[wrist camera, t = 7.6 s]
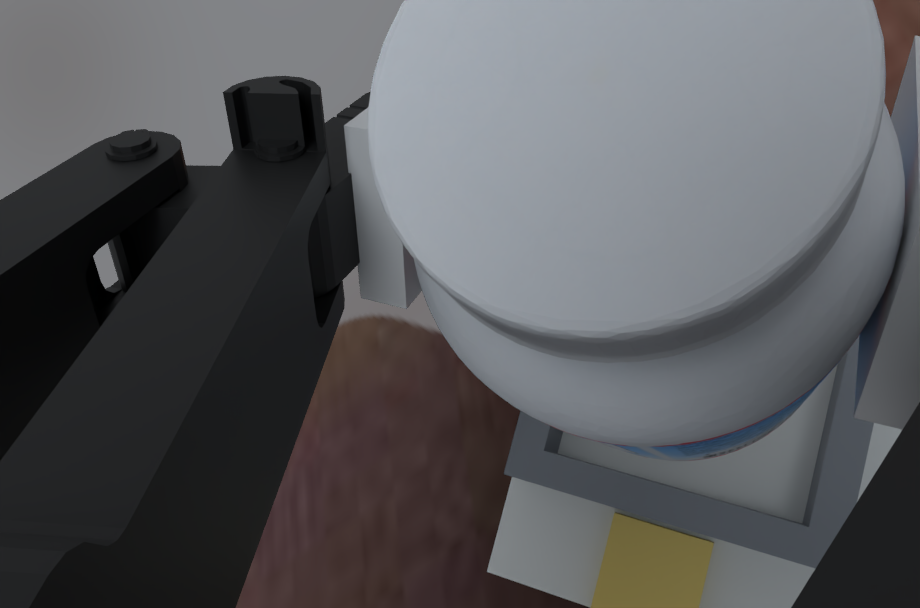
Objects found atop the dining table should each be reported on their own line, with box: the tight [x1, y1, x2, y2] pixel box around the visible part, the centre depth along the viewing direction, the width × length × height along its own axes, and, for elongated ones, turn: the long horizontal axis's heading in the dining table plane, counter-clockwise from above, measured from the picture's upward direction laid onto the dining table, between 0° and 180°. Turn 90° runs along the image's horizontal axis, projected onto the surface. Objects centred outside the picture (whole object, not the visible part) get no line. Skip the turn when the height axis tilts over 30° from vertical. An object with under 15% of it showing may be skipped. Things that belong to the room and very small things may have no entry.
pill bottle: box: [368, 0, 905, 461], centre depth 13 cm, size 6×6×11 cm
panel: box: [487, 336, 902, 608], centre depth 25 cm, size 14×16×3 cm
